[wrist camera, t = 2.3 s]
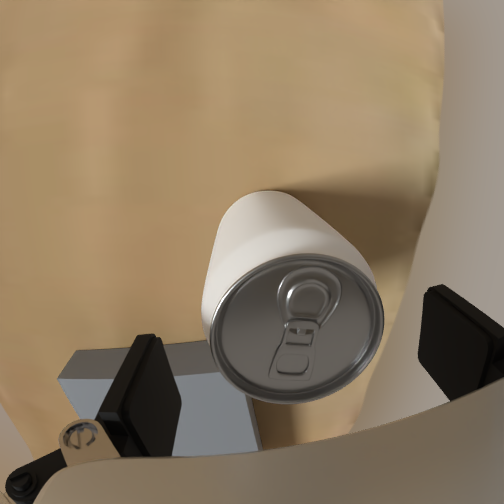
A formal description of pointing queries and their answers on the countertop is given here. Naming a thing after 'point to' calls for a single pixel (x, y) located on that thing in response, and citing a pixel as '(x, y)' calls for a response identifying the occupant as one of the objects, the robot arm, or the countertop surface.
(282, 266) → the can
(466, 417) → the robot arm
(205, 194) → the countertop surface
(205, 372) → the base block
